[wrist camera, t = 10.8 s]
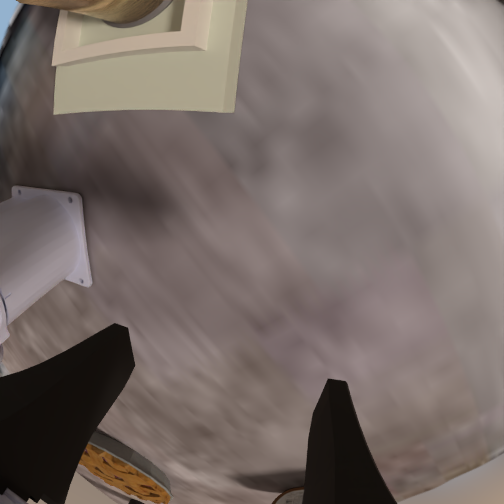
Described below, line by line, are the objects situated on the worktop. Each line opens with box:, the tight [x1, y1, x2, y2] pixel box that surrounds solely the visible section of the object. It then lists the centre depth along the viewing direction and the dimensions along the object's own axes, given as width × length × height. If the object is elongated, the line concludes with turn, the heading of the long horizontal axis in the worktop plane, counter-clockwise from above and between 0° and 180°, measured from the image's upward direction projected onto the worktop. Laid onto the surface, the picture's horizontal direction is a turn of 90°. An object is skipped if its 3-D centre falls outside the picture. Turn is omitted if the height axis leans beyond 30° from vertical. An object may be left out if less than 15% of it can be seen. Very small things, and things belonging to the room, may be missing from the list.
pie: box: [79, 431, 173, 504], centre depth 40 cm, size 22×22×5 cm
